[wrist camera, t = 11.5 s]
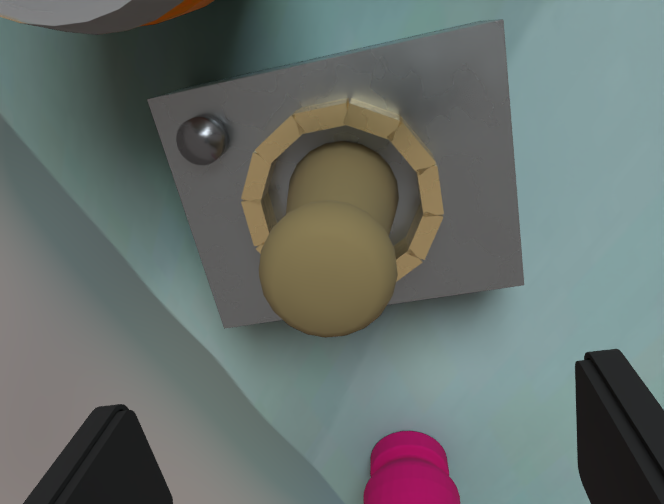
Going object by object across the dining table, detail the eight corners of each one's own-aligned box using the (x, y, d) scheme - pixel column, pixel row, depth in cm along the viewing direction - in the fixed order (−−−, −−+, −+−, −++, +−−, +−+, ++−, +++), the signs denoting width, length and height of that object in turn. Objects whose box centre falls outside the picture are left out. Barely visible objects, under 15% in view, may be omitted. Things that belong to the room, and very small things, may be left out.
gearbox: (186, 87, 32) (130, 104, 25) (479, 21, 29) (513, 18, 22) (246, 284, 37) (214, 346, 30) (501, 244, 35) (534, 302, 27)
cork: (411, 232, 28) (430, 343, 18) (308, 259, 30) (273, 378, 19) (381, 126, 26) (384, 185, 16) (271, 159, 27) (211, 235, 17)
